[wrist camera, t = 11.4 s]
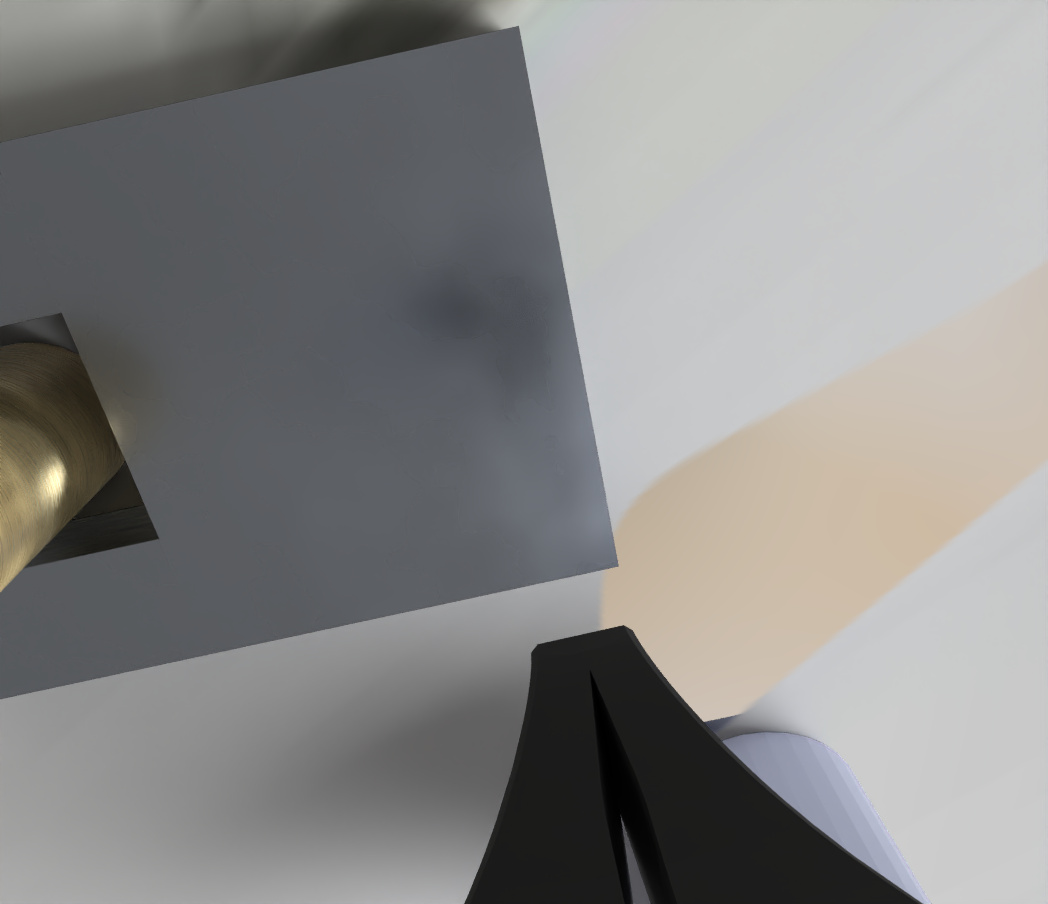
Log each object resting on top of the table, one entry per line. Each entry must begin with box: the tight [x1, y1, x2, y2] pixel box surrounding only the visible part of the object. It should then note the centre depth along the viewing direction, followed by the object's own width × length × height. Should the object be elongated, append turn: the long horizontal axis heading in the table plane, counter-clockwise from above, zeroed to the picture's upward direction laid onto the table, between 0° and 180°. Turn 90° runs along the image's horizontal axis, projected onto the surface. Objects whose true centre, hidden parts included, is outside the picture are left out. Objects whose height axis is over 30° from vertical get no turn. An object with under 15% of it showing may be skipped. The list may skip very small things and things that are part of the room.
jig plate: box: [0, 26, 618, 699], centre depth 19 cm, size 12×18×2 cm, turn 102°
